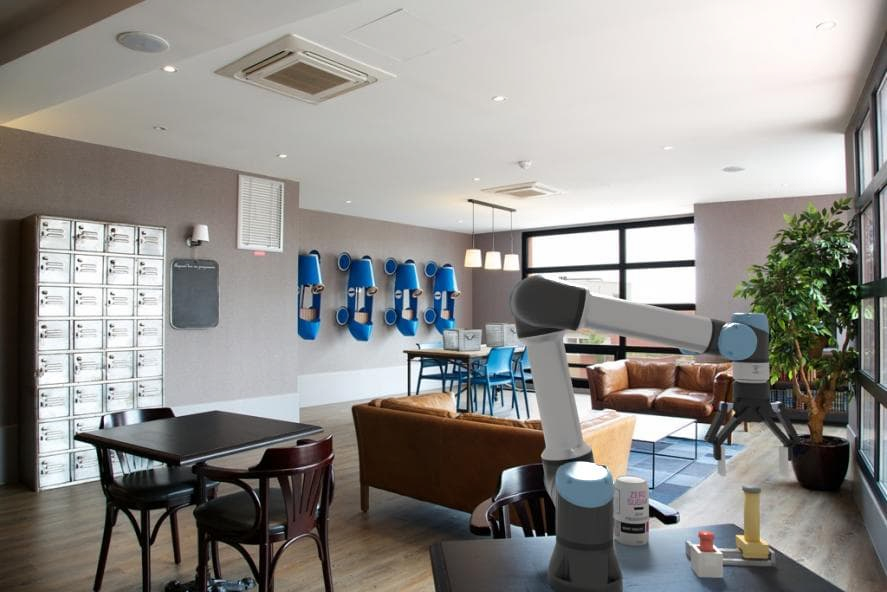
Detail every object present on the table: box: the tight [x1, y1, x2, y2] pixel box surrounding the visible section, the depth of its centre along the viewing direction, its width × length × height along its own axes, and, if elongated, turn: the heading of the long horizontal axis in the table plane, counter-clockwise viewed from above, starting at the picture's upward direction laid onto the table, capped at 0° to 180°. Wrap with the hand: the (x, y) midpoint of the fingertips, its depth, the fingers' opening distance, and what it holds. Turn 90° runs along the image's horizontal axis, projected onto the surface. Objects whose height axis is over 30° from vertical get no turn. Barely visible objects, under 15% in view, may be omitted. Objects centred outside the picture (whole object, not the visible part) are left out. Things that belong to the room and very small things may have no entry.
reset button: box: [697, 530, 716, 552], centre depth 134 cm, size 3×3×5 cm
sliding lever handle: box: [735, 484, 770, 558], centre depth 141 cm, size 5×6×15 cm
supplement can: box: [613, 474, 650, 547], centre depth 152 cm, size 8×8×15 cm
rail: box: [685, 540, 776, 567], centre depth 141 cm, size 17×6×3 cm, turn 86°
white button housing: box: [690, 543, 724, 579], centre depth 134 cm, size 5×5×5 cm
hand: (752, 475), depth 141 cm, fingers open, 13 cm apart
